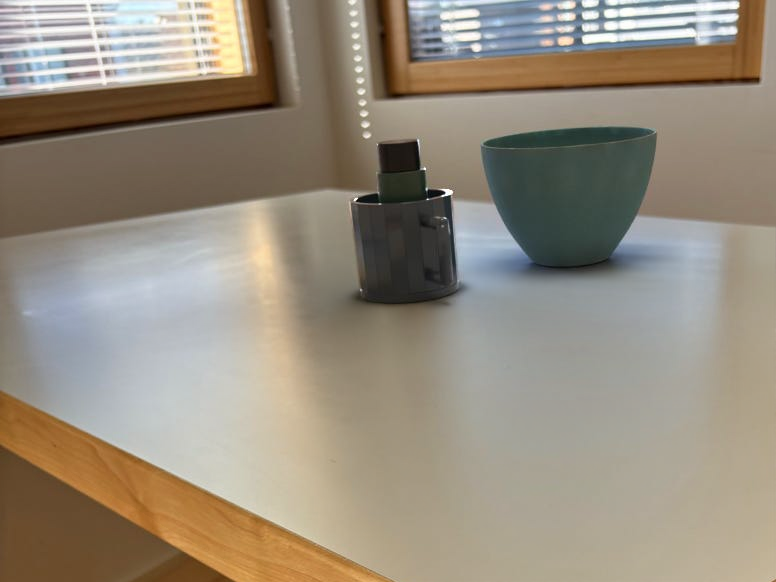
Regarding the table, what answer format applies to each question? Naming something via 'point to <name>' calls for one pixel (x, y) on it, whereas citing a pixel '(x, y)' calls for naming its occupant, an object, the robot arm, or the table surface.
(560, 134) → the green bowl
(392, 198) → the flask
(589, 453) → the table surface
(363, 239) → the mug
